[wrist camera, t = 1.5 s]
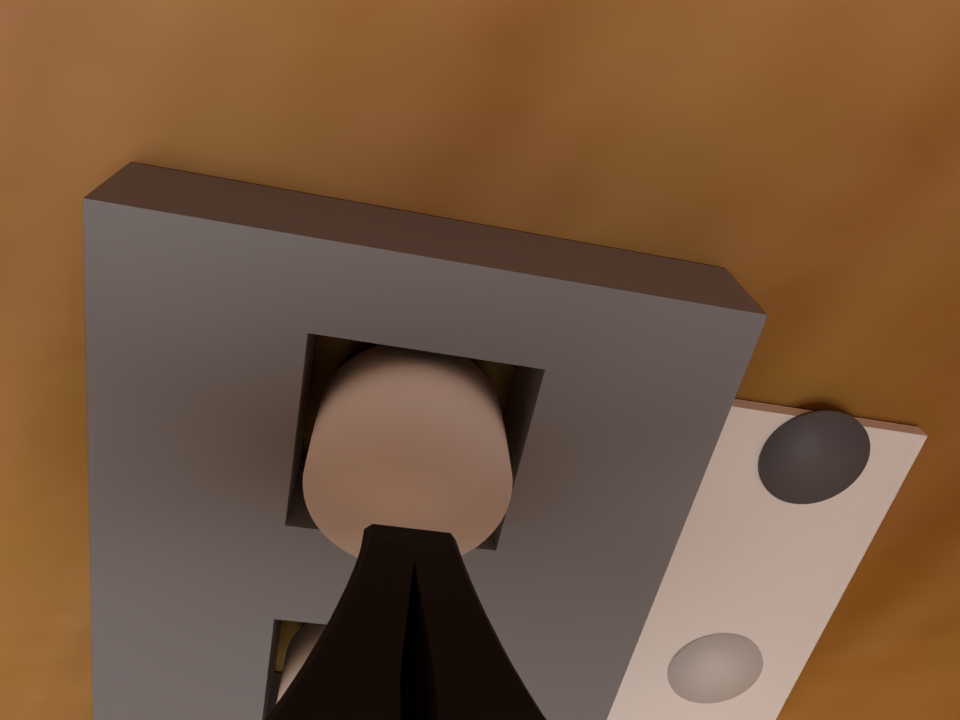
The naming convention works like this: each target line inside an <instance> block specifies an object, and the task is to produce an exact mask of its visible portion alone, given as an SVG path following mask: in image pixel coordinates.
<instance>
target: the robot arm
mask: <svg viewBox="0 0 960 720" xmlns="http://www.w3.org/2000/svg"><path fill="white" fill-rule="evenodd" d="M265 720H547V719H546V718H545V717H544V715H543V714H542V712H541V710H540V709H539V707H538V706H537V704H536V703H535V701H534V700H533V698H532V696H531V695H530V693H529V692H528V690H527V688H526V687H525V685H524V683H523V682H522V680H521V678H520V676H519V675H518V673H517V671H516V670H515V668H514V666H513V664H512V663H511V661H510V659H509V657H508V655H507V654H506V652H505V650H504V648H503V646H502V644H501V642H500V640H499V638H498V637H497V635H496V633H495V631H494V629H493V627H492V625H491V623H490V621H489V619H488V617H487V615H486V613H485V611H484V608H483V606H482V604H481V602H480V600H479V598H478V595H477V593H476V591H475V589H474V586H473V584H472V582H471V579H470V577H469V574H468V572H467V570H466V567H465V564H464V562H463V559H462V556H461V554H460V551H459V548H458V545H457V542H456V539H455V538H454V537H453V536H452V534H451V533H447V532H438V531H430V530H421V529H413V528H404V527H396V526H387V525H379V524H371V525H370V526H368V527H366V528H365V529H364V532H363V538H362V544H361V548H360V552H359V555H358V558H357V561H356V564H355V566H354V569H353V571H352V574H351V576H350V579H349V581H348V583H347V586H346V588H345V590H344V592H343V594H342V596H341V598H340V600H339V602H338V604H337V606H336V608H335V610H334V612H333V614H332V616H331V618H330V620H329V622H328V623H327V625H326V627H325V629H324V630H323V632H322V634H321V636H320V637H319V639H318V641H317V642H316V644H315V646H314V647H313V649H312V651H311V652H310V654H309V656H308V657H307V659H306V661H305V662H304V664H303V666H302V667H301V669H300V670H299V672H298V673H297V675H296V676H295V678H294V679H293V681H292V682H291V684H290V685H289V687H288V688H287V690H286V691H285V693H284V694H283V695H282V697H281V698H280V700H279V701H278V702H277V704H276V705H275V707H274V708H273V709H272V711H271V712H270V714H269V715H268V716H267V718H266V719H265Z"/></svg>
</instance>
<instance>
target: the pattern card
mask: <svg viewBox="0 0 960 720" xmlns="http://www.w3.org/2000/svg"><path fill="white" fill-rule="evenodd" d="M926 438H927V435H926V434H925V433H924V432H923V431H922V430H921V429H920V428H919V427H916V426H909V425H903V424H896V423H890V422H883V421H877V420H870V419H864V418H857V417H852V416H851V415H849V414H847V413H844V412H841V411H837V410H829V409H825V410H814V411H812V410H805V409H799V408H792V407H786V406H779V405H773V404H766V403H760V402H753V401H747V400H740V399H734V402H733V404H732V407H731V409H730V412H729V414H728V417H727V419H726V422H725V424H724V427H723V429H722V432H721V434H720V437H719V439H718V442H717V444H716V447H715V449H714V452H713V454H712V457H711V459H710V462H709V464H708V467H707V469H706V472H705V474H704V477H703V479H702V482H701V484H700V487H699V489H698V492H697V494H696V497H695V499H694V502H693V504H692V507H691V509H690V512H689V515H688V517H687V520H686V522H685V525H684V527H683V530H682V532H681V535H680V537H679V540H678V542H677V545H676V547H675V550H674V552H673V555H672V557H671V560H670V562H669V565H668V567H667V570H666V572H665V575H664V577H663V580H662V582H661V585H660V587H659V590H658V592H657V595H656V597H655V600H654V602H653V605H652V607H651V610H650V612H649V615H648V617H647V620H646V622H645V625H644V627H643V630H642V632H641V635H640V637H639V640H638V642H637V645H636V647H635V650H634V652H633V655H632V657H631V660H630V662H629V665H628V667H627V670H626V673H625V675H624V678H623V680H622V683H621V685H620V688H619V690H618V693H617V695H616V698H615V700H614V703H613V705H612V708H611V710H610V713H609V715H608V718H607V720H776V718H777V716H778V714H779V712H780V711H781V709H782V707H783V705H784V703H785V701H786V699H787V697H788V696H789V694H790V692H791V690H792V688H793V686H794V684H795V683H796V681H797V679H798V677H799V675H800V673H801V671H802V670H803V668H804V666H805V664H806V662H807V660H808V658H809V656H810V655H811V653H812V651H813V649H814V647H815V645H816V643H817V642H818V640H819V638H820V636H821V634H822V632H823V630H824V628H825V627H826V625H827V623H828V621H829V619H830V617H831V615H832V614H833V612H834V610H835V608H836V606H837V604H838V602H839V601H840V599H841V597H842V595H843V593H844V591H845V589H846V587H847V586H848V584H849V582H850V580H851V578H852V576H853V574H854V573H855V571H856V569H857V567H858V565H859V563H860V561H861V559H862V558H863V556H864V554H865V552H866V550H867V548H868V546H869V545H870V543H871V541H872V539H873V537H874V535H875V533H876V532H877V530H878V528H879V526H880V524H881V522H882V520H883V518H884V517H885V515H886V513H887V511H888V509H889V507H890V505H891V504H892V502H893V500H894V498H895V496H896V494H897V492H898V490H899V489H900V487H901V485H902V483H903V481H904V479H905V477H906V476H907V474H908V472H909V470H910V468H911V466H912V464H913V463H914V461H915V459H916V457H917V455H918V453H919V451H920V449H921V448H922V446H923V444H924V442H925V440H926Z"/></svg>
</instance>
